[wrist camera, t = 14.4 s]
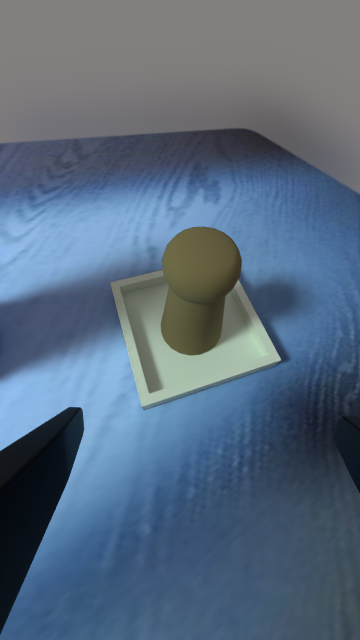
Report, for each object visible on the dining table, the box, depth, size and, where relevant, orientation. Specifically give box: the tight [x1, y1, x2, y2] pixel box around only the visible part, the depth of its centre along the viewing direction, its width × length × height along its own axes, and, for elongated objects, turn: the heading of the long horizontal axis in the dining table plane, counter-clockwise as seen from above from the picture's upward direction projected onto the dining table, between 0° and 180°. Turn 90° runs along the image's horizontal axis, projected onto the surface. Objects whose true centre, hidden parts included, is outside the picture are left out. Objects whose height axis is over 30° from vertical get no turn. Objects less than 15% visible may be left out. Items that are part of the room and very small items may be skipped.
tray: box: [110, 270, 281, 410], centre depth 25 cm, size 13×13×2 cm
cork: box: [161, 227, 242, 356], centre depth 20 cm, size 6×6×11 cm
